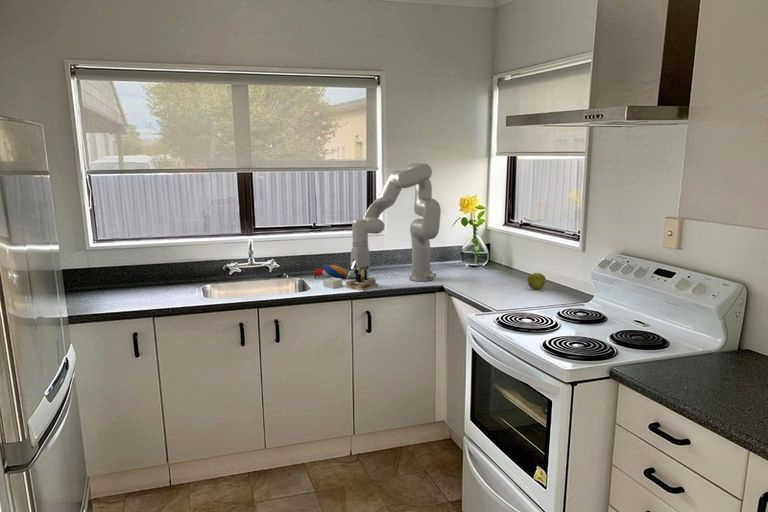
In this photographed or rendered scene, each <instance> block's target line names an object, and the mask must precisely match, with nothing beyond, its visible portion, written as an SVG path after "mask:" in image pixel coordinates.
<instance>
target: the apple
mask: <svg viewBox="0 0 768 512" xmlns="http://www.w3.org/2000/svg"><path fill="white" fill-rule="evenodd" d="M547 282H548V281H547V280H546V277H545V275H544V274H542V273H540V272H534V273H532V274H530V275H528V277H527V284H528V286H529V288H530V289H533V290H537V291H539V290H542V289H543V288H544V285H545V283H547Z"/></svg>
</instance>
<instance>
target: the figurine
mask: <svg viewBox="0 0 768 512" xmlns="http://www.w3.org/2000/svg"><path fill="white" fill-rule="evenodd" d="M322 267H323V268H317V270H314V271H313V272H314V279H315V280H316V279H317V277H320V276H322V277H323V276H326V277H329V278H332V277H333V278H339V279H344V278H346V280H348V279H350V278H355V273H354V271H353V270H351V267H350V268H348V269H345V268H344V267H342V266H340V265H339V266H338V265H335V264H322ZM370 271H371V269H368V270H367V272H366V273H367V279H368V278H369V277H370V275H369V272H370Z"/></svg>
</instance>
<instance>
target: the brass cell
mask: <svg viewBox="0 0 768 512" xmlns="http://www.w3.org/2000/svg"><path fill="white" fill-rule="evenodd" d="M357 270H358V269H357ZM360 274H361V282H364V281H365V273H364V268H361V269H360ZM361 282H358V283H361Z"/></svg>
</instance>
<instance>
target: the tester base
mask: <svg viewBox="0 0 768 512" xmlns="http://www.w3.org/2000/svg"><path fill="white" fill-rule="evenodd" d="M354 282H356V280H355V278H354V279H351V280H350V279H349V280H346V282H345V284H346V285H345V286H346V289H350V288H351V289H352V290H356V289H358V290H357V291H361V290H364V291H366V289H367V290H370V289H373V288H376V286H377V287H379V283H377V280H376V279H375V278H371V279H367V280H366V281H364V282H361V283H358V284H354ZM369 288H370V289H369Z"/></svg>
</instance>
